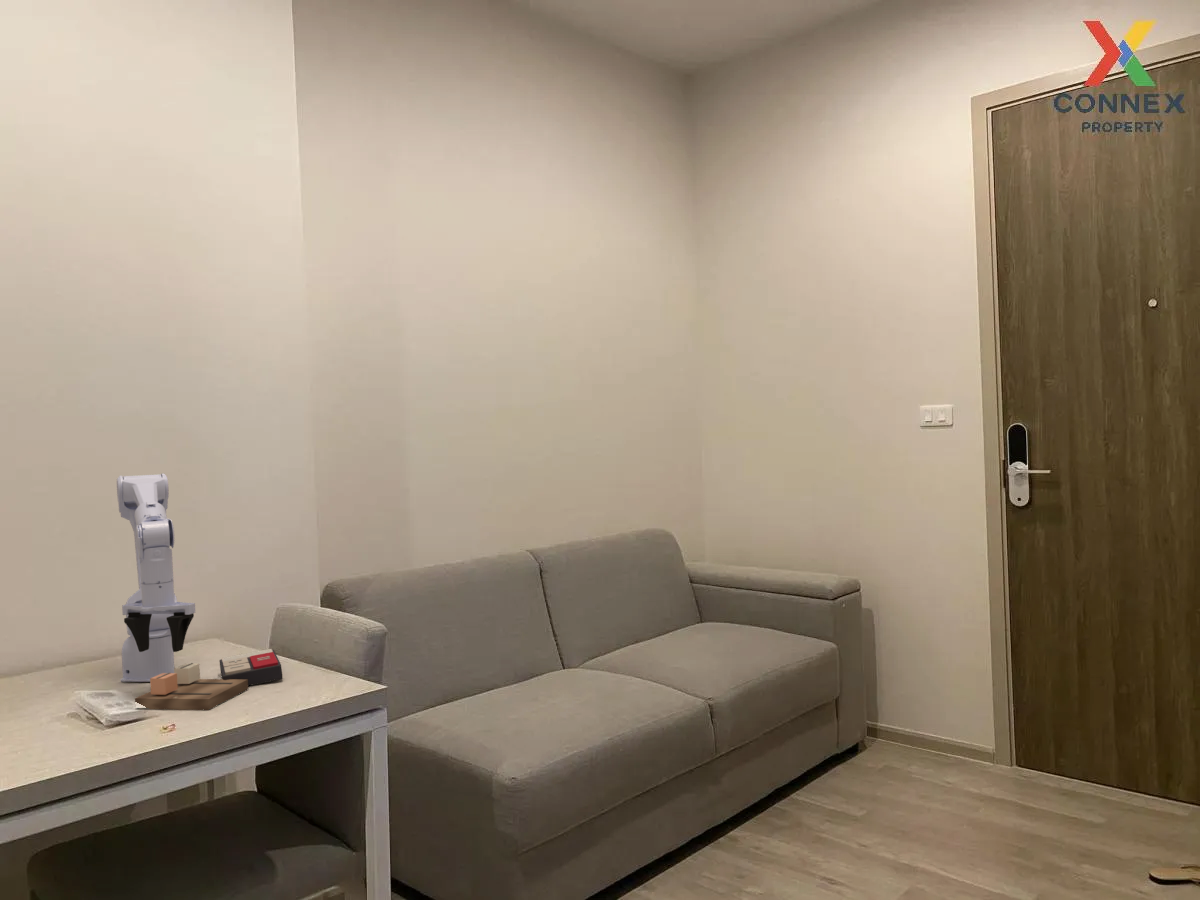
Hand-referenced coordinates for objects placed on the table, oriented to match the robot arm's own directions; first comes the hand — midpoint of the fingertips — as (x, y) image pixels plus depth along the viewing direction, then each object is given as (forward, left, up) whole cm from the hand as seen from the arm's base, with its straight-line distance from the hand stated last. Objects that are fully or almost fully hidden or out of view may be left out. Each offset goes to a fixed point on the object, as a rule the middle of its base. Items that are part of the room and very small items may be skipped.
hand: (160, 650), depth 177 cm
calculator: (+12, +12, -9) cm, 19 cm away
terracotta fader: (+6, -7, -6) cm, 11 cm away
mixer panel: (+9, -4, -8) cm, 13 cm away
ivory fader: (+5, 0, -6) cm, 8 cm away
